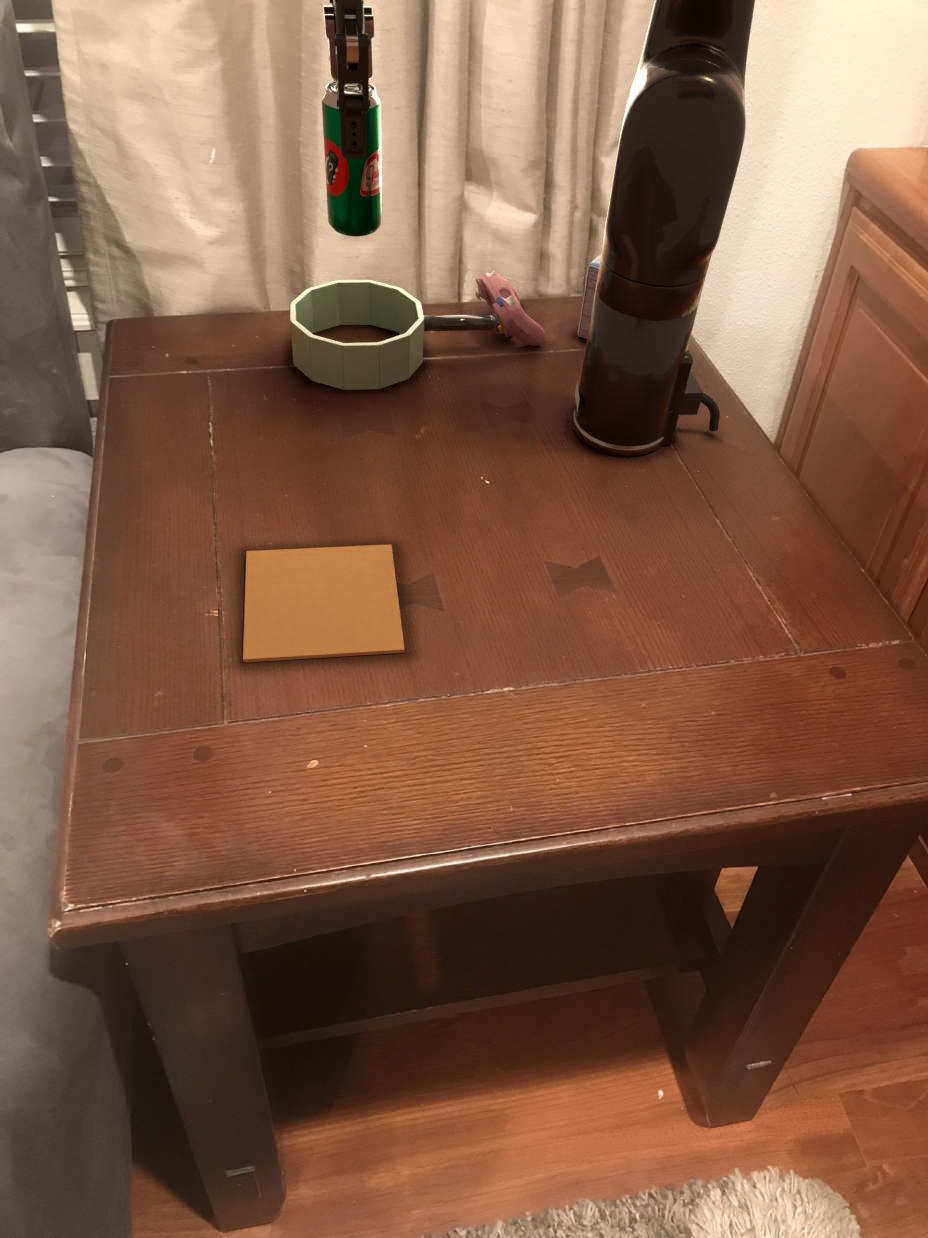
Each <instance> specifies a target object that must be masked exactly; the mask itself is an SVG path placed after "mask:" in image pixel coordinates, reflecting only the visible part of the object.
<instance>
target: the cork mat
mask: <svg viewBox="0 0 928 1238" xmlns="http://www.w3.org/2000/svg"><path fill="white" fill-rule="evenodd" d="M245 552H246V553H245V578H244V579H245V583H244V585H245V586H244V609H243V610H244V612H243V613H244V614H243V644H242V661H243V663H244V664H245V663H246V664H247V663H259V662H275V661H276V662H277V661H293V660H308V659H325V658H326V659H327V658H340V657H341V658H342V657H355V656H356V657H357V656H359V657H360V656H374V655H388V654H389V655H390V654H391V655H392V654H404V653H405V643H404V642H405V641H404V635H403V634H404V633H403V627H402V617H401V609H400V603H399V594H398V586H397V579H396V578H397V576H396V571H395V570H396V569H395V561H394V554H393V547H392V544H391V543H389V544H369V545H348V546H328V547H327V546H326V547H305V548H287V549H286V548H284V549H264V550H263V549H261V550H246V551H245Z"/></svg>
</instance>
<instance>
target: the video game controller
mask: <svg viewBox="0 0 928 1238" xmlns="http://www.w3.org/2000/svg"><path fill="white" fill-rule="evenodd" d="M475 282H476V285H477V288H478V289H477V290H476V289H475V290H474V295H475V297H476V299H477V300H478V301H482V300H484V301H485V302H486V304H487V306H488V308H489V310H490V312H491V315H493V316H495V318H496V319H497V324H499V325H497V328H498V331H499V332H500V333H503V334H504V335H505V337H506V338H508V337H510V336H512V337H513V338H514V339H516V340H517V341H519V342H521V343H523V344H525V345H529V346H535V347H536V346H540V345H542V344H543V343H544V341H545V339H546V332H545V330H544V328H543V327H542V326H541V325H540V324H539V323H538V322H536V321H535V320H534V319H532V318H531V317H530V316H529V315H528V314H527V313H526V312H525V310H524V309H523V308H522V305H521V303H520V301H521V298H520V294H519V292H518V291H517V290H516V289H515V288H514V286H513V284H512V283H511V281H509V280H508V279H507V278H505V277H503V276H501V274H499V273H498V272H496V271H495V269H493V270H492V272H486V273H483V274H481V275H480V276H478V277H476V278H475Z"/></svg>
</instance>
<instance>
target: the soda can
mask: <svg viewBox="0 0 928 1238" xmlns="http://www.w3.org/2000/svg"><path fill="white" fill-rule="evenodd" d="M324 90H325V93H324V95H323V97H322V99H321V111H322V112H321V113H322V114H321V115H322V116H321V117H322V134H323V151H324V169H325V171H324V172H325V187H326V188H325V189H326V206H327V207H326V208H327V222H328V224H329V226H330V227H331V228H332V229H333V230H334V231H335V232H336V233H338V234H341V235H343V236H348V237H357V238H358V237H364V236H369V235H372V234H374V233H375V232H377V231H378V229H379V228H380V227H381V226H382V224H383V170H382V169H383V165H382V164H383V161H382V104H381V103H382V102H381V100H380V98H379V96H378V94H377V88H376V86H375V85H374V84H372V83H370V82H369V100H370V107H369V112H366V124H367V156H366V157H365V158H364V159H345V158H344V157H343V156H342V153H341V133H340V112H339V111H338V107H337V106H336V101H337V99H338V92H337V82H336V81H332V82H330V83H328V84H326V86H325V88H324ZM344 95H361V84H346V85H345V86H344Z"/></svg>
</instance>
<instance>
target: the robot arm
mask: <svg viewBox="0 0 928 1238" xmlns="http://www.w3.org/2000/svg"><path fill="white" fill-rule="evenodd" d="M364 2H365V1H364V0H329V4H330V5H323V22H324V23H323V24H324V25H323V26H324V35H325V38H326V40H327V43H328V44H327V49H328V50H327V51H328V60H329V70H330V72H329V73H330V77H331V79H332V80H333V82H335V81H336V82H337V92H338V99H337V101H336V106H337V107H338V111H339V112H340V133H341V153H342V156H343V157H344V158H345V159H364V158H365V157H366V156H367V124H366V112H369V107H370V100H369V83H370V82H369V81H370V80H371V79H372V77H373V74H374V73H373V46H372V45H373V43H372V42H373V40H374V37H375V17H374V14H373V9H372V8H373V7H372V6H365V3H364ZM755 4H756V0H654V1H653V5H652V10H651V15H650V19H649V23H648V28H647V31H646V36H645V40H644V45H643V48H642V52H641V55H640V58H639V63H638V66H637V71H636V72H635V73H636V74H635V76H634V79H633V81H632V85H631V88H630V91H629V95H628V99H627V103H626V107H625V112H624V116H623V120H622V125H621V129H620V135H619V141H618V146H617V153H616V159H615V165H614V171H613V177H612V182H611V183H612V184H611V189H610V197H609V203H608V209H607V214H606V219H605V226H604V233H603V235H604V236H603V243H602V248H601V254H600V255H601V259H600V265H599V271H598V277H597V283H596V289H595V295H594V301H593V307H592V313H591V319H590V325H589V331H588V337H587V339H586V343H585V348H584V349H585V350H584V355H583V362H582V367H581V373H580V379H579V382H578V381H576V384H575V390H574V396H575V406H574V411H573V415H572V421H571V422H572V423H571V424H572V429H573V431H574V433H575V435H576V436H577V438H579V439H580V440H581V441H582V442H583V443H584V444H586V445H588V446H589V447H591V448H593V449H596V450H598V451H600V452H603V453H606V454H610V455H614V456H615V455H616V456H626V457H627V456H629V457H630V456H631V457H633V456H641V455H646V454H649V453H651V452H654V451H656V450H658V449H659V448H660V447H662V446H670V445H672V444H673V440H674V436H675V434H676V433H675V432H676V428H677V425H678V422H679V417H680V416H695V415H696V416H697V415H698V414H699V409H700V406H701V404H702V405H704V406H705V407H706V408H707V409H708V411H709V422H708V430H709V431H710V432H717V431H718V430H719V424H720V418H721V417H720V416H721V415H720V414H721V413H720V412H721V411H720V408H719V405H718V403H717V402H716V401H715V399H713V397H711V396H710V395H708V394H706V393H705V392H703V390H702V388H701V385H700V384H699V383H698V382H699V381H697V379H696V377H695V375H694V373H693V371H692V368H693V364H694V356H693V354H692V352H691V351H690V349H689V346H690V345H689V344H690V341H691V337H692V332H693V328H694V324H695V320H696V318H697V317H696V316H697V313H698V309H699V304H700V301H701V297H702V293H703V289H704V285H705V281H706V278H707V273H708V270H709V266H710V262H711V259H712V256H713V252H714V251H715V249H716V247H717V244H718V242H719V238H720V235H721V231H722V228H723V223H724V220H725V217H726V213H727V210H728V207H729V206H728V205H729V202H730V198H731V194H732V190H733V187H734V185H735V184H734V183H735V180H736V175H737V171H738V169H739V168H738V167H739V165H740V160H741V156H742V151H743V148H744V142H745V137H746V128H747V117H746V90H745V89H746V72H747V61H748V54H749V45H750V37H751V32H752V31H751V30H752V23H753V18H754V10H755ZM346 84H361V95H344V86H345V85H346Z"/></svg>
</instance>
